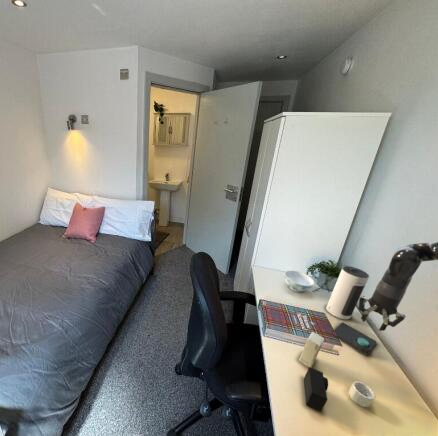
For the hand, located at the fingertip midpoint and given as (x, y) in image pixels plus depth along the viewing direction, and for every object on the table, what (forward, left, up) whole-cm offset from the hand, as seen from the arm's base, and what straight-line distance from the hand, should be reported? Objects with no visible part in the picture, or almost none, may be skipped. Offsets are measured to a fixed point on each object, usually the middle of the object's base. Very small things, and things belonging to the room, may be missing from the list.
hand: (372, 325), depth 97 cm
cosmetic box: (+9, +28, -14) cm, 32 cm away
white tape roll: (-8, +28, -13) cm, 31 cm away
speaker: (+14, -17, -14) cm, 26 cm away
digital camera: (+1, +41, -14) cm, 43 cm away
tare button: (0, 0, -11) cm, 11 cm away
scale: (+3, -3, -13) cm, 14 cm away
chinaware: (+36, -18, -14) cm, 43 cm away
